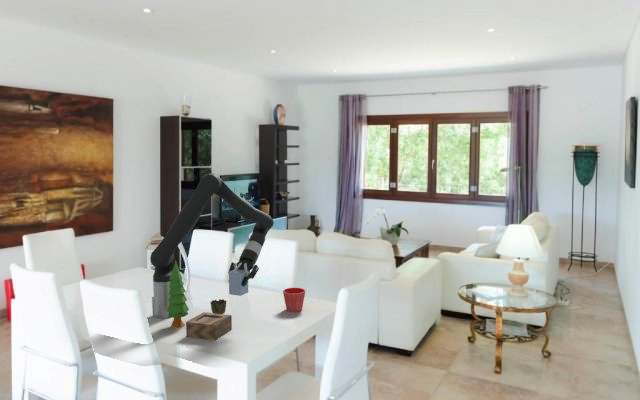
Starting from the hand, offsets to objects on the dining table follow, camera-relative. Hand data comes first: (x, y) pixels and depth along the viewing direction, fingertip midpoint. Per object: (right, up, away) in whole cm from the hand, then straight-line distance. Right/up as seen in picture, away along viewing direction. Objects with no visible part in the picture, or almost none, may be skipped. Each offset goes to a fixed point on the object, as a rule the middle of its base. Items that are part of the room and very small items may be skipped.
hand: (236, 284), depth 229 cm
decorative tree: (-27, -20, +6) cm, 34 cm away
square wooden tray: (-11, -21, -3) cm, 24 cm away
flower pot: (+24, -17, +30) cm, 42 cm away
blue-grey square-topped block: (+1, -4, +2) cm, 5 cm away
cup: (-11, -19, +18) cm, 28 cm away
